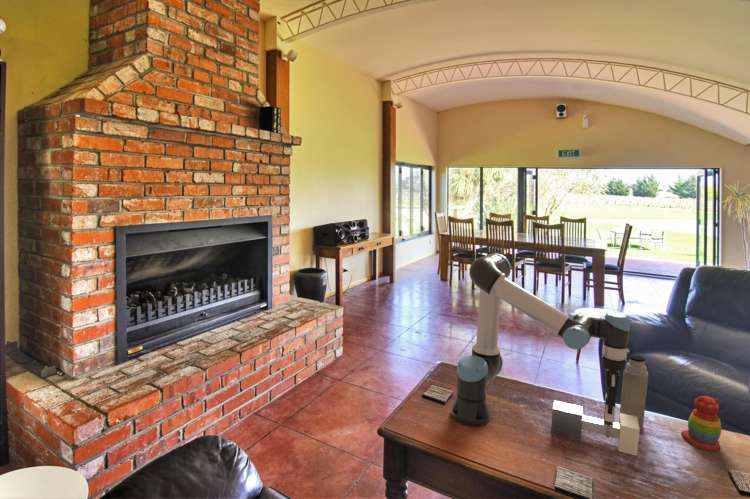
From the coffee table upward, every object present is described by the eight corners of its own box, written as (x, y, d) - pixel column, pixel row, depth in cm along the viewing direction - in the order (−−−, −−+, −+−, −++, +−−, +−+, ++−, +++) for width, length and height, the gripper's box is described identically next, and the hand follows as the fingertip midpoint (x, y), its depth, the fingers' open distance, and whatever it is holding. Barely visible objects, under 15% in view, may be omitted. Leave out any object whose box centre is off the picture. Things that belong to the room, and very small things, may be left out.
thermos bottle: (637, 420, 164) (644, 353, 160) (646, 432, 156) (653, 362, 152) (615, 418, 166) (621, 352, 161) (623, 430, 158) (629, 360, 154)
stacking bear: (713, 437, 153) (719, 392, 150) (726, 454, 144) (733, 406, 141) (679, 432, 156) (684, 388, 154) (689, 448, 147) (695, 401, 144)
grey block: (551, 432, 156) (552, 408, 155) (552, 423, 162) (554, 400, 161) (580, 440, 152) (582, 415, 150) (581, 430, 158) (582, 406, 156)
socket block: (618, 451, 145) (620, 425, 144) (617, 437, 153) (619, 412, 152) (636, 455, 143) (639, 429, 141) (634, 441, 151) (637, 416, 149)
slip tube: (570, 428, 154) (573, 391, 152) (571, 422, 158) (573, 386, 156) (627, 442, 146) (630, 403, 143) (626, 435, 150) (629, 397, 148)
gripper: (628, 367, 137) (622, 432, 141) (625, 350, 151) (619, 410, 155) (602, 363, 141) (597, 427, 144) (601, 347, 155) (596, 405, 158)
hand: (608, 418), depth 150 cm, fingers closed on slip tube, 3 cm apart
